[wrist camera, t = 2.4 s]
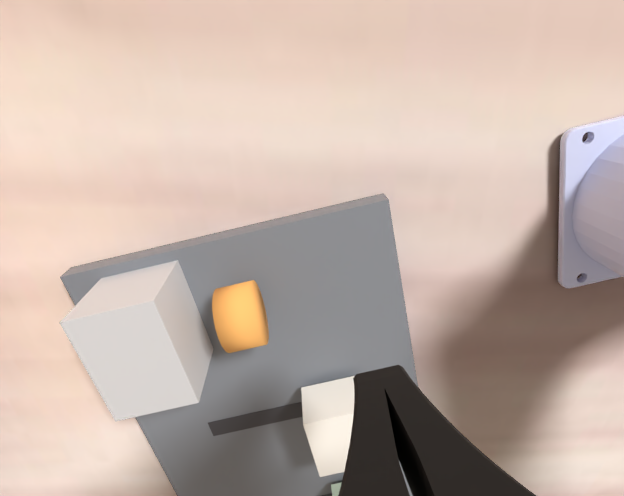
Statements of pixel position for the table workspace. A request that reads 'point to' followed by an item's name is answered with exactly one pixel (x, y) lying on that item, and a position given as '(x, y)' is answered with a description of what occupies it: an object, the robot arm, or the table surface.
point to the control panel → (246, 363)
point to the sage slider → (335, 489)
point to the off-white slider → (329, 422)
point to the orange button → (240, 317)
